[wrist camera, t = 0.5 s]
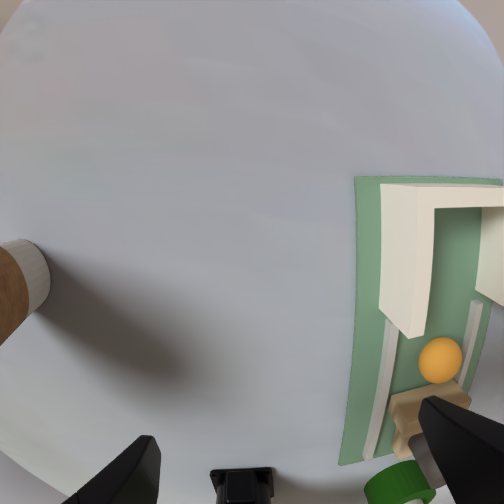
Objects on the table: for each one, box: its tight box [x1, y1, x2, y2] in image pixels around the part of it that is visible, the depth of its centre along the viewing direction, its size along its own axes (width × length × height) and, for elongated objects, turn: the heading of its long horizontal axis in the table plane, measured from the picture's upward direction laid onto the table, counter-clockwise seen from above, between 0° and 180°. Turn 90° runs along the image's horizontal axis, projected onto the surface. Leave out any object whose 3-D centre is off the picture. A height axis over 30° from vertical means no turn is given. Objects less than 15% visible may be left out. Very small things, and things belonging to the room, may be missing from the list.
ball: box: [418, 337, 462, 384], centre depth 21 cm, size 4×4×4 cm
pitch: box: [338, 176, 504, 466], centre depth 21 cm, size 29×15×5 cm, turn 5°
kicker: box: [388, 378, 472, 489], centre depth 20 cm, size 8×7×8 cm
